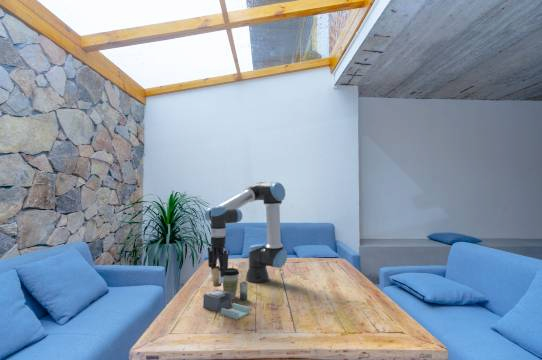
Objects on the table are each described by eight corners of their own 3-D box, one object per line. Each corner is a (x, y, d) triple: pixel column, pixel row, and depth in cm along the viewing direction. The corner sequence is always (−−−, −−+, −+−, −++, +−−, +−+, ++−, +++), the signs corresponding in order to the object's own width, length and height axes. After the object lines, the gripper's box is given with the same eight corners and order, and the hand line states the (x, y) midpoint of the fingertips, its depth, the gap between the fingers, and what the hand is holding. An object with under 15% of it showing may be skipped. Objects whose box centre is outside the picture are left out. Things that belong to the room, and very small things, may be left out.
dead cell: (243, 298, 172) (243, 280, 173) (248, 299, 170) (248, 281, 170) (238, 300, 169) (238, 282, 169) (244, 301, 167) (244, 283, 167)
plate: (217, 293, 164) (217, 290, 164) (225, 295, 161) (225, 292, 161) (209, 296, 159) (209, 293, 160) (217, 298, 156) (217, 295, 156)
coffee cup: (222, 300, 168) (222, 272, 168) (220, 295, 177) (220, 268, 178) (240, 299, 170) (240, 271, 171) (237, 293, 180) (237, 267, 180)
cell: (217, 283, 163) (217, 265, 163) (222, 285, 161) (223, 266, 161) (211, 285, 160) (212, 266, 160) (217, 287, 157) (217, 267, 158)
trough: (233, 308, 157) (233, 303, 157) (249, 313, 151) (249, 307, 151) (221, 314, 150) (221, 308, 150) (237, 319, 144) (237, 313, 144)
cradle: (217, 301, 167) (217, 289, 167) (231, 305, 161) (231, 292, 162) (203, 307, 159) (203, 294, 159) (217, 311, 153) (217, 298, 153)
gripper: (201, 235, 163) (200, 281, 162) (225, 238, 153) (225, 287, 153) (211, 234, 169) (211, 277, 168) (235, 236, 159) (235, 283, 159)
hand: (217, 282), depth 160 cm, fingers closed on cell, 4 cm apart
